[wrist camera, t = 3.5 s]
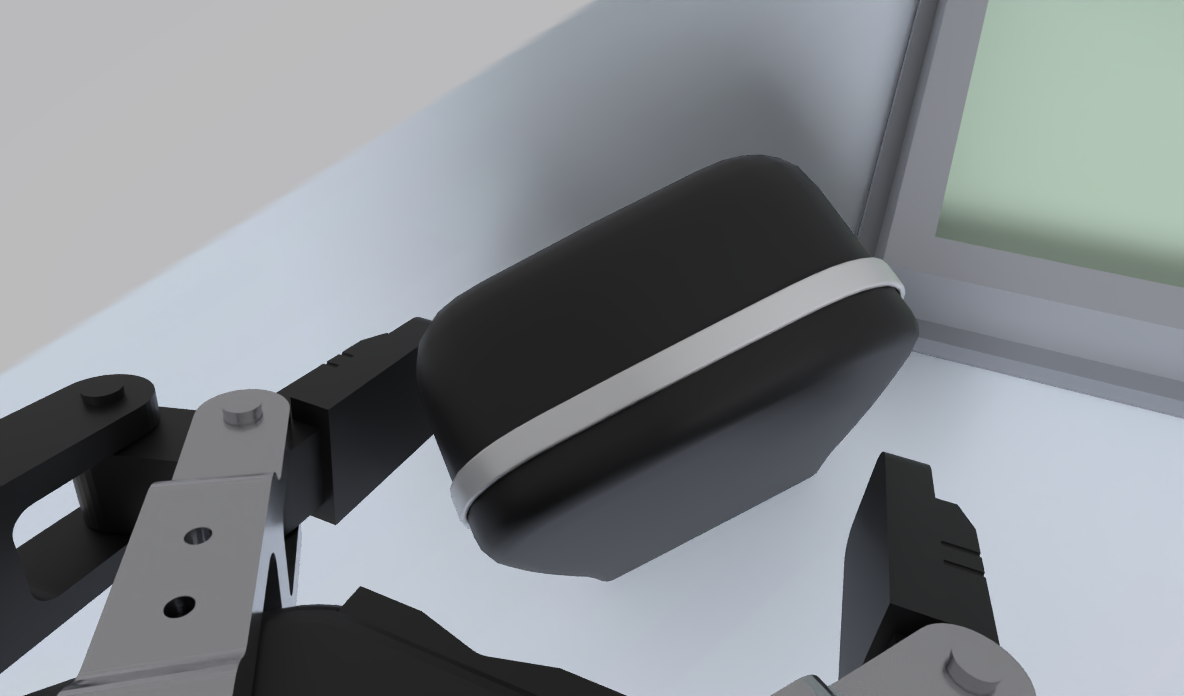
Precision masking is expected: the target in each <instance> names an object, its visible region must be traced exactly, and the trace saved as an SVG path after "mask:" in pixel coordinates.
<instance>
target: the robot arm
mask: <svg viewBox="0 0 1184 696" xmlns="http://www.w3.org/2000/svg"><path fill="white" fill-rule="evenodd" d="M431 322H432V321H431V320H427V319H424V318H421V317H415V318H413V319H411V320H410V321H408V322H406V323H405V324H403V325H402V326H400V327H399V328H397V329H395V330H394V331H392V332H391V333H389V334H388V333H385V334H381V335H378V336H375V337H371V338H368V339H364V340H361V341H360V342H358V343H356V344H355V345H353V346H351V347H350V348H348V349H347V350H345V351H343V352H342V355H340V354H338V355H337V356H335V357H334V358H332V359H330V360H329V361H327V364H322V365H321V366H319V367H317V368H316V369H314V370H313V371H311V372H309V373H308V374H306V375H304V376H303V377H301V378H300V379H298V380H296V381H295V382H293V383H291V384H290V385H288V386H287V387H285V388H283V389H282V390H280V391H279V392H277V393H274V392H271V391H267V390H258V389H246V390H237V391H232V392H228V393H224V394H221V395H218V396H216V397H214V398H211V399H209V400H208V401H206V402H204V403H203V404H202V405H201V406H200V407H199V408H198V409H197V410H187V409H178V408H168V407H158V402H157V397H156V392H155V388H154V385H153V384H152V383H151V382H150V381H149V380H147V379H145V378H143V377H140V376H135V375H127V374H113V375H103V376H98V377H93V378H89V379H85V380H82V381H79V382H76V383H74V384H71V385H69V386H67V387H65V388H63V389H61V390H59V391H57V392H55V393H53V394H51V395H49V396H47V397H45V398H43V399H40V400H38V401H36V402H34V403H32V404H30V405H28V406H26V407H24V408H22V409H20V410H18V411H16V412H14V413H12V414H10V415H8V416H6V417H4V418H2V419H0V674H1V673H2V672H3V671H4V670H6V669H7V668H8V667H9V666H11V665H12V664H13V663H14V662H16V661H17V660H18V659H19V658H21V657H22V656H23V655H24V654H26V653H27V652H28V651H29V650H31V649H32V648H33V647H34V646H36V645H37V644H38V643H39V642H41V641H42V640H43V639H44V638H46V637H47V636H48V635H49V634H51V633H52V632H53V631H54V630H56V629H57V628H58V627H59V626H61V625H62V624H63V623H64V622H66V621H67V620H68V619H69V618H71V617H72V616H73V615H74V614H76V613H77V612H78V611H80V610H81V609H82V608H83V607H85V606H86V605H87V604H88V603H90V602H91V601H92V600H93V599H95V598H96V597H97V596H98V595H100V594H101V593H102V592H103V591H105V590H106V589H107V588H108V587H110V586H111V585H112V584H113V585H112V588H111V590H110V593H109V596H108V598H107V601H106V604H105V606H104V609H103V612H102V614H101V617H100V619H99V622H98V625H97V627H96V630H95V633H94V635H93V638H92V641H91V643H90V646H89V649H88V651H87V654H86V657H85V659H84V662H83V665H82V667H81V670H80V672H79V674H78V676H77V677H76V678H73V679H71V680H68V681H65V682H62V683H59V684H56V685H53V686H50V687H47V688H45V689H42V690H39V691H36V692H33V693H30V694H27V695H24V696H626V695H624V694H621V693H619V692H616V691H614V690H611V689H609V688H607V687H604V686H602V685H599V684H597V683H594V682H592V681H590V680H587V679H585V678H582V677H580V676H577V675H575V674H573V673H570V672H568V671H565V670H563V669H560V668H555V667H549V666H542V665H536V664H530V663H524V662H518V661H512V660H506V659H500V658H493V657H487V656H483V655H480V654H478V653H476V652H475V651H473V650H472V649H470V648H469V647H468V646H466V645H465V644H464V643H462V642H461V641H460V640H459V639H457V638H456V637H455V636H453V635H452V634H451V633H449V632H448V631H447V630H445V629H444V628H443V627H442V626H440V625H439V624H438V623H436V622H435V621H434V620H432V619H431V618H430V617H428V616H427V615H426V614H425V613H423V612H422V611H420V610H417V609H415V608H412V607H410V606H407V605H405V604H403V603H400V602H398V601H395V600H393V599H390V598H388V597H386V596H383V595H381V594H378V593H376V592H373V591H371V590H369V589H366V588H364V587H361V586H360V587H359V588H358V589H357V590H356V592H355V593H354V594H353V595H352V596H351V597H350V598H349V599H348V600H347V601H346V603H345V604H344V605H343V606H339V605H323V604H315V605H300V606H296V602H297V590H298V578H299V566H300V554H301V542H302V531H301V523H302V522H303V521H304V520H305V519H306V518H307V517H309V516H310V515H311V516H314V517H316V518H319V519H321V520H324V521H326V522H329V523H332V524H334V525H336V524H338V523H339V522H340V521H341V520H342V519H343V518H344V517H345V516H346V515H347V514H348V513H349V512H350V511H352V510H353V509H354V508H355V507H356V506H357V505H358V504H359V503H360V502H361V501H362V500H363V499H364V498H365V497H367V496H368V495H369V494H370V493H371V492H372V491H373V490H374V489H375V488H376V487H377V486H378V485H379V484H380V483H382V482H383V481H384V480H385V479H386V478H387V477H388V476H389V475H390V474H391V473H392V472H393V471H394V470H395V469H397V468H398V467H399V466H400V465H401V464H402V463H403V462H404V461H405V460H406V459H407V458H408V457H409V456H410V455H412V454H413V453H414V452H415V451H416V450H417V449H418V448H419V447H420V446H421V445H422V444H423V443H424V442H425V441H427V440H428V439H429V438H430V437H431V436H432V435H433V431H432V428H431V426H430V423H429V421H428V418H427V416H426V413H425V411H424V408H423V404H422V400H421V396H420V393H419V389H418V385H417V381H416V370H417V355H418V346H419V341H420V340H421V338H422V336H423V335H424V333H425V332H426V330H427V328H428V327H429V325H430V324H431ZM72 479H73V483H74V486H75V490H76V493H77V497H78V500H79V504H80V507H79V508H77V509H76V510H74V511H73V512H71V513H70V514H68V515H67V516H65V517H64V518H62V519H61V520H59V521H58V522H56V523H55V524H53V525H51V526H50V527H48V528H47V529H45V530H44V531H42V532H41V533H39V534H38V535H36V536H35V537H33V538H32V539H30V540H29V541H27V542H26V543H24V544H23V545H21V546H20V547H18V548H17V549H16V547H15V545H14V542H13V537H12V533H13V528H14V525H15V523H16V521H17V519H18V518H19V516H20V515H21V514H22V513H23V511H24V510H25V509H27V508H28V507H29V506H30V505H32V504H33V503H35V502H36V501H38V500H40V499H41V498H43V497H45V496H46V495H48V494H49V493H51V492H53V491H54V490H56V489H58V488H59V487H61V486H62V485H64V484H66V483H67V482H69V481H71V480H72ZM984 573H985V572H984V567H983V562H982V558H981V557H980V548H979V543H978V538H977V533H976V529H975V528H974V526H973V525H972V524H971V522H970V521H969V520H968V518H967V517H966V516H965V514H964V513H963V512H962V510H961V509H960V507H959V506H958V505H957V504H953V503H950V502H947V501H943V500H940V499H937V498H935V493H934V486H933V478H932V471H931V467H930V465H928V464H924V463H921V462H917V461H914V460H910V459H907V458H903V457H900V456H896V455H893V454H889V453H886V452H882V453H881V454H880V456H879V458H878V460H877V462H876V464H875V467H874V470H873V472H872V475H871V477H870V480H869V483H868V485H867V488H866V490H865V493H864V496H863V498H862V501H861V503H860V506H859V508H858V511H857V514H856V516H855V519H854V522H853V524H852V527H851V530H850V534H849V538H848V542H847V547H846V552H845V561H844V580H843V600H842V619H841V639H840V659H839V679H838V681H837V682H835V683H833V684H832V685H830V686H826V685H825V684H824V683H823V681H822V680H821V679H820V678H819V677H818V676H816V675H807V676H804V677H802V678H800V679H798V680H796V681H794V682H793V683H791V684H789V685H788V686H786V687H784V688H783V689H781V690H779V691H778V692H776V693H774V694H773V695H771V696H1036V693H1035V689H1034V687H1033V684H1032V682H1031V680H1030V678H1029V677H1028V675H1027V673H1026V672H1025V671H1024V669H1023V668H1022V667H1021V665H1020V664H1019V663H1018V662H1017V661H1016V660H1015V659H1014V658H1013V657H1012V656H1011V655H1010V654H1009V653H1008V652H1007V651H1006V650H1004V649H1003V648H1002V647H1000V645H999V640H998V635H997V630H996V625H995V620H994V616H993V611H992V606H991V601H990V596H989V591H988V587H987V582H986V578H985V577H984Z"/></svg>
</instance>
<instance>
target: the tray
mask: <svg viewBox="0 0 1184 696" xmlns="http://www.w3.org/2000/svg"><path fill="white" fill-rule="evenodd" d="M857 239H858V240H859V242H860V243H861V244H862V246H863V247H864V248H865V250H866V251H867V252H868V254H869V255H870V256H871V257H874V258H878V259H881V260H883V261H884V262H886V263H887V264H888V265H889V267H890V268H891V269H892V271H893V272H894V273H895V274H896V276H897V277H898V278H899V280H900V281H901V282H902V284H903V285H904V288H905V296H904V299H903V300H904V301H905V303H906V304H907V305H908V307H909V308H910V309H911V311H912V312H913V314H914V316H915V318H916V320H917V322H918V324H919V337H918V339H917V341H916V343H915V345H914V347H913V349H912V351H915V352H919V353H923V354H927V355H931V356H935V357H939V358H943V359H947V360H951V361H955V362H959V363H963V364H967V365H971V366H975V367H979V368H983V369H987V370H991V371H995V372H999V373H1003V374H1007V375H1011V376H1015V377H1019V378H1023V379H1027V380H1031V381H1035V382H1039V383H1043V384H1047V385H1051V386H1055V387H1059V388H1063V389H1067V390H1071V391H1075V392H1079V393H1083V394H1087V395H1091V396H1095V397H1099V398H1103V399H1107V400H1111V401H1115V402H1119V403H1123V404H1127V405H1131V406H1136V407H1140V408H1144V409H1148V410H1152V411H1156V412H1160V413H1164V414H1168V415H1172V416H1176V417H1180V418H1184V0H919V4H918V7H917V11H916V15H915V19H914V23H913V26H912V30H911V34H910V38H909V42H908V45H907V49H906V53H905V57H904V61H903V65H902V68H901V72H900V76H899V80H898V84H897V87H896V91H895V95H894V99H893V103H892V107H891V110H890V114H889V118H888V122H887V126H886V129H885V133H884V137H883V141H882V145H881V148H880V152H879V156H878V160H877V164H876V168H875V171H874V175H873V179H872V183H871V187H870V190H869V194H868V198H867V202H866V206H865V209H864V213H863V217H862V221H861V225H860V229H859V232H858V236H857Z"/></svg>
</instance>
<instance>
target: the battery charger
mask: <svg viewBox="0 0 1184 696" xmlns="http://www.w3.org/2000/svg"><path fill="white" fill-rule="evenodd" d="M904 296H905V288H904V285H903V284H902V282H901V281H900V280H899V278H898V277H897V276H896V274H895V273H894V272H893V271H892V269H891V268H890V267H889V265H888V264H887V263H886V262H884V261H883V260H881V259H878V258H874V257H871V256H870V255H869V254H868V252H867V251H866V250H865V248H864V247H863V246H862V244H861V243H860V242H859V240H858V239H857V238H856V236H855V235H854V234H853V233H852V231H851V230H850V229H849V227H848V226H847V225H846V223H845V222H844V221H843V219H842V218H841V217H840V215H839V214H838V213H837V211H836V210H835V209H834V207H833V206H832V205H831V203H830V202H829V201H828V199H827V198H826V197H825V196H824V194H823V193H822V192H821V190H820V189H819V188H818V187H817V186H816V185H815V184H814V183H813V182H812V181H811V180H810V179H809V178H808V176H807V175H806V174H805V173H804V172H803V171H802V170H801V169H800V168H799V167H798V166H795V165H793V164H791V163H789V162H786V161H784V160H782V159H779V158H777V157H771V156H765V155H746V156H739V157H735V158H731V159H726V160H722V161H720V162H718V163H715V164H713V165H711V166H708V167H706V168H704V169H701V170H699V171H697V172H695V173H693V174H691V175H689V176H687V177H685V178H683V179H681V180H679V181H677V182H675V183H673V184H671V185H669V186H667V187H665V188H663V189H661V190H659V191H657V192H654V193H652V194H650V195H648V196H646V197H644V198H642V199H640V200H638V201H636V202H634V203H632V204H630V205H628V206H626V207H624V208H622V209H620V210H618V211H616V212H614V213H612V214H610V215H608V216H606V217H604V218H602V219H600V220H598V221H596V222H594V223H592V224H590V225H588V226H586V227H585V228H583V229H581V230H579V231H577V232H575V233H573V234H571V235H569V236H568V237H566V238H564V239H562V240H560V241H558V242H556V243H554V244H552V245H551V246H549V247H547V248H545V249H543V250H541V251H539V252H537V253H535V254H534V255H532V256H530V257H528V258H526V259H524V260H522V261H520V262H518V263H517V264H515V265H513V266H511V267H509V268H507V269H505V270H503V271H501V272H500V273H498V274H496V275H494V276H492V277H490V278H488V279H486V280H485V281H483V282H481V283H479V284H477V285H476V286H474V287H472V288H471V289H469V290H467V291H466V292H464V293H462V294H461V295H459V296H457V297H456V298H454V299H453V300H452V301H451V302H450V303H449V304H447V305H446V306H445V307H444V308H443V309H441V310H440V311H439V312H438V313H437V315H436V316H435V318H434V319H433V321H432V322H431V324H430V325H429V327H428V328H427V330H426V332H425V333H424V335H423V336H422V338H421V340H420V341H419V346H418V355H417V370H416V381H417V385H418V389H419V393H420V396H421V400H422V404H423V408H424V411H425V413H426V416H427V418H428V421H429V423H430V426H431V428H432V431H433V434H434V436H435V439H436V441H437V444H438V446H439V449H440V451H441V454H442V456H443V459H444V461H445V464H446V467H447V469H448V472H449V474H450V477H451V479H452V485H451V488H450V492H451V498H452V500H453V503H454V505H455V508H456V511H457V513H458V516H459V518H460V521H461V522H462V523H463V524H464V526H465V527H467V528H468V529H470V530H471V531H472V533H473V535H474V538H475V540H476V541H477V543H478V545H479V547H480V548H481V550H482V551H483V552H484V553H486V554H487V555H488V556H489V557H490V558H492V559H493V560H494V561H496V562H497V563H499V564H503V565H506V566H510V567H514V568H518V569H522V570H527V571H531V572H538V573H545V574H555V575H567V576H586V577H591V578H596V579H599V580H601V581H611V580H614V579H616V578H618V577H620V576H622V575H624V574H625V573H627V572H629V571H631V570H633V569H635V568H637V567H639V566H641V565H643V564H645V563H647V562H649V561H651V560H653V559H655V558H656V557H658V556H660V555H662V554H664V553H666V552H668V551H670V550H672V549H674V548H676V547H678V546H680V545H681V544H683V543H685V542H687V541H689V540H691V539H693V538H695V537H697V536H699V535H701V534H703V533H705V532H707V531H708V530H710V529H712V528H714V527H716V526H718V525H720V524H722V523H724V522H726V521H728V520H730V519H731V518H733V517H735V516H737V515H739V514H741V513H743V512H745V511H747V510H749V509H751V508H753V507H754V506H756V505H758V504H760V503H762V502H764V501H766V500H768V499H770V498H772V497H774V496H775V495H777V494H779V493H781V492H783V491H785V490H787V489H789V488H791V487H793V486H795V485H796V484H798V483H800V482H802V481H804V480H806V479H808V478H810V477H811V476H813V475H814V474H815V473H817V471H818V470H819V468H820V467H821V465H822V464H823V463H824V461H825V460H826V458H827V457H828V456H829V454H830V453H831V452H832V451H833V450H834V448H835V447H836V446H837V445H838V444H839V443H840V442H841V441H842V440H843V439H844V437H845V436H846V435H847V434H848V433H849V432H850V431H851V429H852V428H853V427H854V426H855V425H856V424H857V423H858V421H859V420H860V419H861V418H862V417H863V416H864V414H865V413H866V412H867V411H868V410H869V408H870V407H871V406H872V405H873V403H874V402H875V401H876V400H877V398H878V397H879V396H880V395H881V393H882V392H883V391H884V389H885V388H886V387H887V385H888V384H889V383H890V381H891V380H892V379H893V377H894V376H895V375H896V373H897V372H898V371H899V369H900V368H901V366H902V365H903V364H904V362H905V361H906V359H907V358H908V357H909V355H910V353H911V351H912V349H913V347H914V345H915V343H916V341H917V339H918V337H919V324H918V322H917V320H916V318H915V316H914V314H913V312H912V311H911V309H910V308H909V307H908V305H907V304H906V303H905V301H904V300H903V299H904Z"/></svg>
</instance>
